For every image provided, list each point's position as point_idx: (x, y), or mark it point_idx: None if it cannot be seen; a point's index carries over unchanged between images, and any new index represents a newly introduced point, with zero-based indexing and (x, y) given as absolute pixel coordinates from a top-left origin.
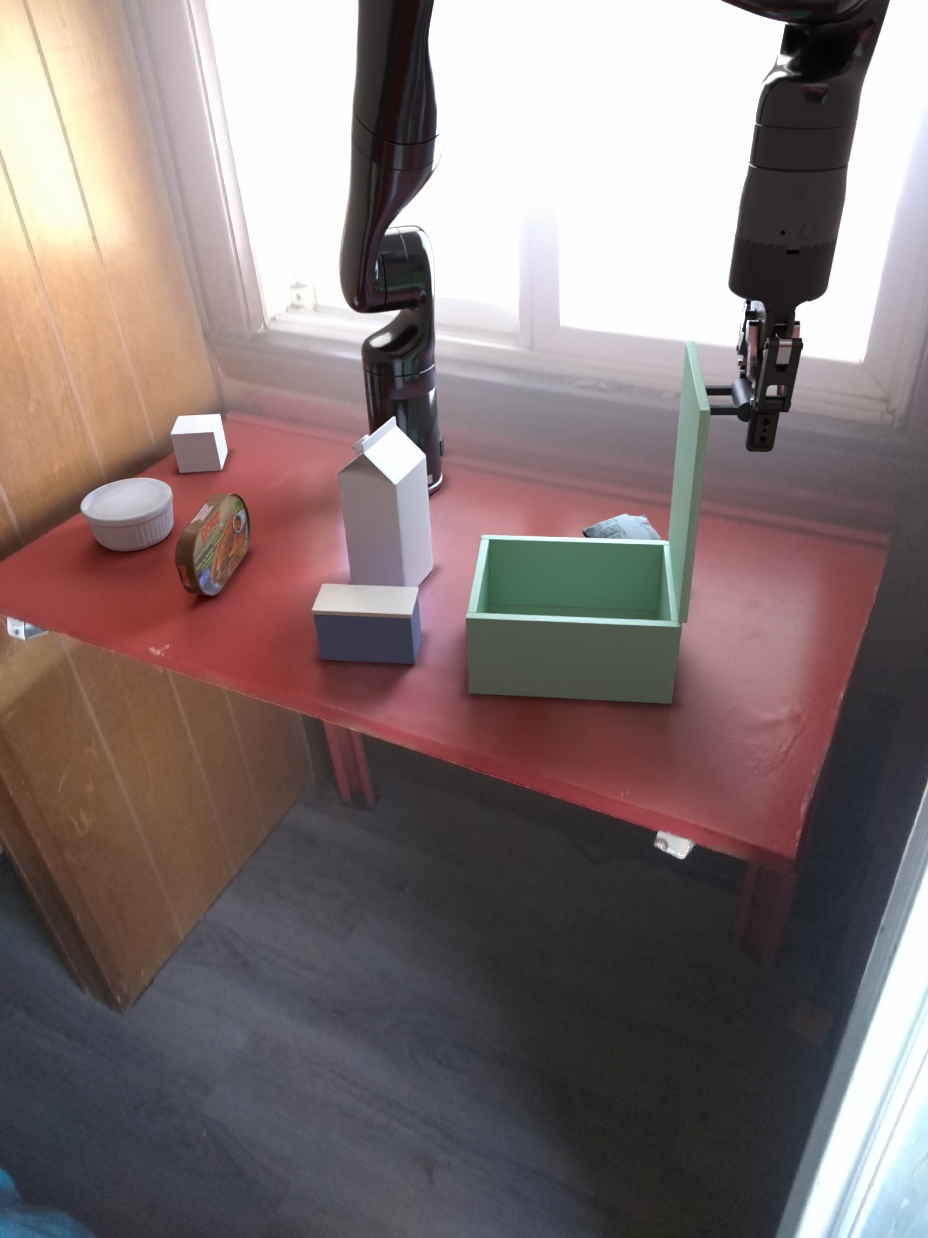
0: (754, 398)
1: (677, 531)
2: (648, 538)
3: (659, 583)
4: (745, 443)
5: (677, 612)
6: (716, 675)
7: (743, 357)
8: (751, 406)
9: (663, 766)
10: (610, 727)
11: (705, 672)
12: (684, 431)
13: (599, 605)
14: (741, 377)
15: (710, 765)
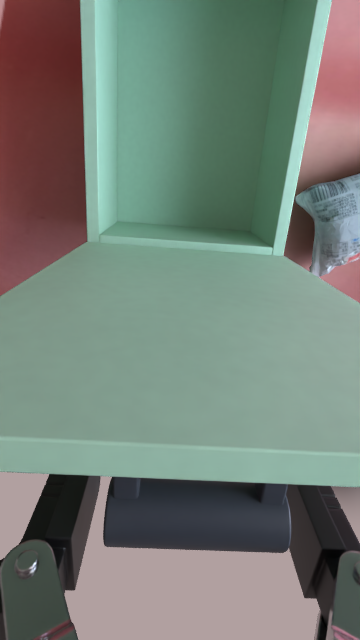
0: (1, 586)
1: (186, 264)
2: (358, 235)
3: (254, 237)
4: None
5: (101, 243)
6: None
7: (331, 619)
8: (36, 546)
9: (23, 209)
10: (69, 160)
11: None
12: (250, 324)
13: (261, 162)
14: (315, 539)
15: (32, 252)
